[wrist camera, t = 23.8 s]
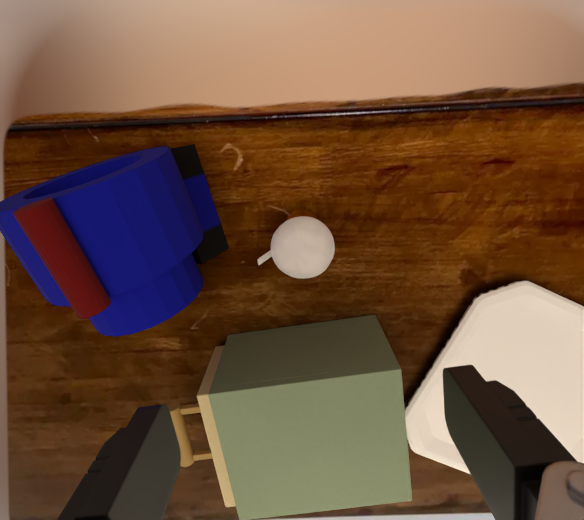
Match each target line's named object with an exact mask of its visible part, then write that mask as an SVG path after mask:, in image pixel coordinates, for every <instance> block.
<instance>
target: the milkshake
mask: <svg viewBox="0 0 584 520" xmlns="http://www.w3.org/2000/svg"><path fill="white" fill-rule="evenodd" d="M334 251H335V245H334V239H333V236H332V234H331V232H330V230H329V229H328V228H327V227H326V226H325V225H324V224H323V223H322V222H321V221H320V220H319V218H318V217H317V216H316V215H315V213H313V212H311V211H309V210H307V209H306V208H299V209H293V210H292V211H291V212H290V213H289V214H288V215H286V216H285V217H284V219H283V221H282V223H281V225H280V226H279V227H278V229H277V230H276V231H275V233H274V235H273V237H272V240H271V250H270V251H269V252H267V253H266V254H264V255H263V256H261V257H260V258H258V259H257V262H258V265H260V264H262V263H263V262H265V261H266V260H267V259H269V258H270V257H272V258H273V260H274V262H275V264H276V266H277V267H278V268H279V269H280V270H281V271H282V272H284V273H285V274H287V275H289V276H291V277H294V278H312V277H315V276H318V275H320V274H321V273H323V272H324V271H325V270H326V269H327V267H328V266H329V264H330V262H331V261H332V259H333V256H334Z"/></svg>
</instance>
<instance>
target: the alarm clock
mask: <svg viewBox="0 0 584 520" xmlns="http://www.w3.org/2000/svg"><path fill="white" fill-rule="evenodd" d="M0 231H1V233H2V234H3V236H4V237H5V239H6V240H7V242H8V243H9V245H10V247H11V248H12V250H13V251H14V253H15V254H16V256H17V257H18V259H19V260H20V262H21V263H22V265H23V266H24V268H25V269H26V271H27V272H28V274H29V275H30V277H31V278H32V280H33V281H34V283H35V284H36V286H37V287H38V289H39V290H40V292H41V293H42V295H43V296H44V298H45V299H46V300H47V301H48V302H50V303H51V304H52V305H56V306H71V307H72V308H73V310H74V311H75V313H76V315H77V316H78V318H80V319H86V318H89V319H90V321H91V322H92V324H93V325H94V327H95V329H96V330H97V331H98V332H100V333H101V334H103V335H108V336H122V335H128V334H133V333H136V332H139V331H142V330H145V329H148V328H151V327H153V326H155V325H157V324H159V323H161V322H163V321H165V320H167V319H169V318H171V317H172V316H174V315H175V314H177V313H178V312H180V311H181V310H182V309H184V308H185V307H187V306H188V305H189V304H190V303H191V302H192V301H193V300H194V299H195V298H196V297H197V295H198V294H199V292H200V290H201V288H202V286H203V278H202V276H201V273H200V271H199V269H198V266H197V264H203V263H204V262H206V261H208V260H209V259H211V258H213V257H214V256H216V255H218V254H220V253H221V252H223V251H225V250H226V249H228V248H229V247H228V244H227V241H226V238H225V235H224V232H223V229H222V226H221V223H220V220H219V217H218V214H217V211H216V208H215V205H214V202H213V199H212V196H211V193H210V190H209V187H208V184H207V181H206V178H205V175H204V172H203V169H202V166H201V163H200V160H199V157H198V154H197V151H196V148H195V145H194V144H192V145H187V146H183V147H178V148H173V149H170V147H165V146H163V147H156V148H150V149H146V150H141V151H137V152H133V153H129V154H126V155H122V156H119V157H115V158H112V159H109V160H106V161H102V162H99V163H96V164H93V165H90V166H87V167H84V168H81V169H78V170H75V171H72V172H70V173H67V174H64V175H62V176H59V177H56V178H54V179H51V180H48V181H46V182H43V183H41V184H38V185H36V186H33V187H31V188H29V189H26V190H24V191H22V192H19V193H17V194H15V195H13V196H11V197H9V198H6V199H5V200H3V201H1V202H0Z"/></svg>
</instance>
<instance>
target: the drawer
mask: <svg viewBox="0 0 584 520" xmlns="http://www.w3.org/2000/svg"><path fill="white" fill-rule="evenodd" d="M224 346H225V345H223V346H216V347H215V349H214V352H213V354H212V357H211V360H210V362H209V365H208V368H207V370H206V373H205V375H204V378H203V381H202V383H201V386H200V389H199V391H198V394H197V399H198V403H196V404H189V405H182V406H181V405H180V403H179V402H171V403H169V404H167V406H168V408H169V411H170V414H171V417H172V421H173V425H174V428H175V432H176V435H177V439H178V442H179V446H180V451H181V463H180V465H181V466H182V467H187V466H190V465H191V464H192V463H193V462H194V461H195V460H203V459H211V458H213V461H214V465H215V468H216V472H217V476H218V480H219V484H220V488H221V491H222V495H223V499H224V503H225V507H232V506H236V504H235V500H234V496H233V492H232V488H231V484H230V480H229V476H228V472H227V468H226V464H225V460H224V456H223V452H222V448H221V444H220V440H219V436H218V432H217V428H216V424H215V420H214V416H213V412H212V408H211V404H210V400H209V396H208V393H209V390H210V388H211V385H212V382H213V379H214V376H215V373H216V370H217V367H218V364H219V361H220V358H221V355H222V352H223V349H224ZM200 412H201V415H202V418H203V422H204V426H205V430H206V434H207V438H208V442H209V445H210V449H207V450H199V451H194V452H193V449H192V445H191V441H190V438H189V434H188V431H187V427H186V423H185V420H184V416H183V415H184V414H192V413H200Z"/></svg>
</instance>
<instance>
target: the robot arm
mask: <svg viewBox="0 0 584 520" xmlns="http://www.w3.org/2000/svg"><path fill="white" fill-rule="evenodd" d="M443 394H444V413H445V420H446V425H447V428H448V431H449V434H450V436H451V438H452V440H453V442H454V444H455V446H456V448H457V450H458V451H459V453H460V455H461V457H462V459H463V461H464V462H465V464H466V466H467V468H468V470H469V472H470V474H471V475H472V477H473V479H474V481H475V483H476V485H477V486H478V488H479V490H480V492H481V494H482V496H483V498H484V499H485V501H486V503H487V505H488V507H489V509H490V510H491V512H492V514H493V516H494V518H495V520H584V463H581V462H577V460H576V459H575V458H574V457H573V456H572V455H571V454H570V453H569V452H568V450H567V449H566V448H565V447H564V446H563V445H562V444H561V443H560V442H559V440H558V439H557V438H556V437H555V436H554V435H553V434H552V433H551V432H550V430H549V429H548V428H547V427H546V426H545V425H544V424H543V423H542V421H541V420H540V419H537V417H536V415H535V414H534V413H533V411H532V410H531V409H530V408H529V407H527V406H526V404H525V403H524V401H523V400H522V399H521V398H520V397H519V396H518V395H517V394H516V393H515V391H514V390H512V389H510V388H508V387H507V386H505V385H503V384H502V383H500V382H498V381H496V380H494V381H485V379H484V378H483V377H482V376H481V374H480V373H479V372H478V371H477V370H476V368H475V367H474V366H473V365H463V366H456V367H448V368H444V369H443ZM180 463H181V451H180V446H179V442H178V439H177V435H176V432H175V428H174V425H173V421H172V417H171V414H170V411H169V408H168V406H167V405H165V404H163V405H155V406H148V407H140V408H138V409H137V410H136V412H135V414H134V415H133V417H132V419H131V421H130V422H129V424H128V426H127V427H126V428H120V429H119V430H118V431H117V432H116V433H115V434H114V435H113V436H112V437H111V438H110V439H109V440H107V441H106V442H105V444H104V445H103V447H102V449H101V450H100V452H99V453H98V455H97V457H96V461H94V462H93V463H92V465H91V466H90V468H89V470H88V474H85V476H84V478H83V479H82V481H81V482H80V484H79V486H78V487H77V489H76V490H75V492H74V494H73V495H72V497H71V498H70V500H69V502H68V503H67V505H66V506H65V508H64V510H63V511H62V513H61V515H60V516H59V518H58V519H57V520H162V519H163V516H164V513H165V510H166V508H167V505H168V502H169V499H170V496H171V493H172V490H173V487H174V484H175V481H176V478H177V475H178V473H179V469H180Z"/></svg>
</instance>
